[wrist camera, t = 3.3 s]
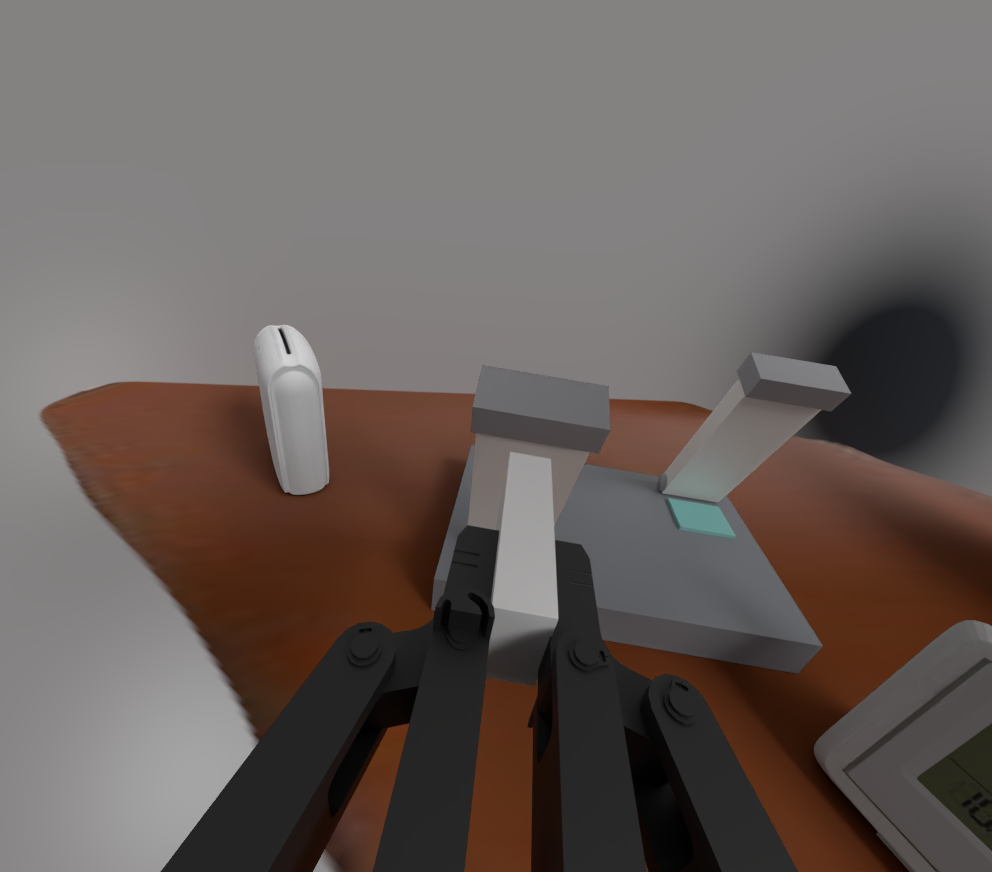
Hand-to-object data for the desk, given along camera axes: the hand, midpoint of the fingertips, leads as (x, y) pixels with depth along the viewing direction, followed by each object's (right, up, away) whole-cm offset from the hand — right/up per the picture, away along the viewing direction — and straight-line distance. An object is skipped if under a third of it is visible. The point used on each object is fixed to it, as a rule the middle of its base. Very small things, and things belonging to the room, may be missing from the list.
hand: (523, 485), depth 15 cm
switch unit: (+7, -7, +18) cm, 21 cm away
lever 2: (+16, -3, +22) cm, 27 cm away
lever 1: (-1, -6, +13) cm, 14 cm away
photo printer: (-19, -1, +22) cm, 30 cm away
